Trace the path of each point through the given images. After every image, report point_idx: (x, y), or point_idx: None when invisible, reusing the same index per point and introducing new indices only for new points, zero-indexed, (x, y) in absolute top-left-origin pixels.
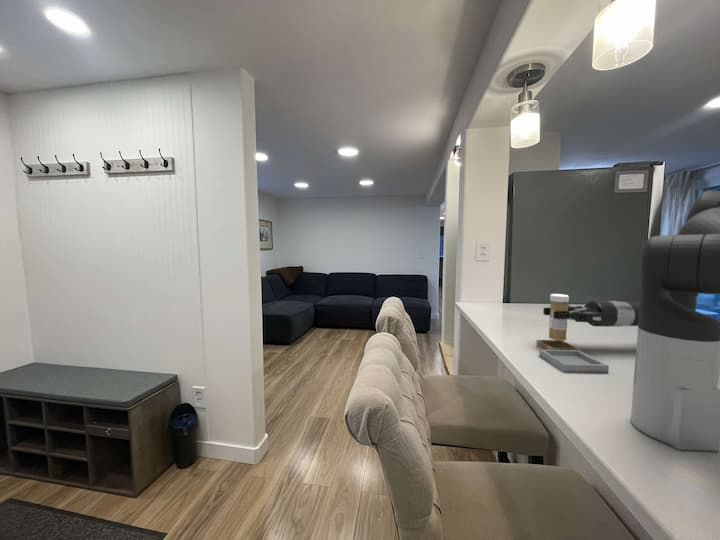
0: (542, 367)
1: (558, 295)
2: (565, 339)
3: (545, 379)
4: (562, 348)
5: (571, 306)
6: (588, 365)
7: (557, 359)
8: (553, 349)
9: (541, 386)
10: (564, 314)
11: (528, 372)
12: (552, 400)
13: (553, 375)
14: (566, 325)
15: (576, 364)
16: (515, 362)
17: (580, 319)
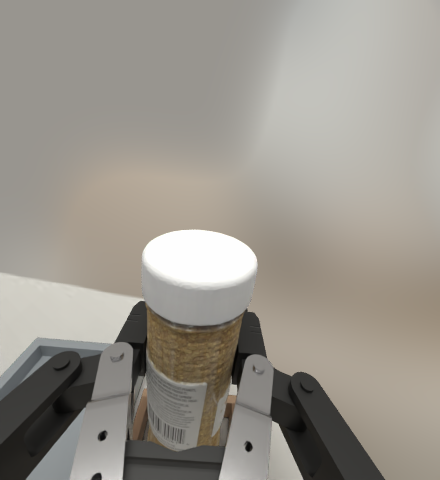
0: (91, 327)
1: (176, 235)
2: None
3: (49, 303)
4: (134, 435)
5: (243, 464)
6: None
7: (70, 344)
8: (142, 395)
9: (38, 286)
10: (126, 326)
11: (88, 295)
12: (2, 277)
13: (50, 323)
14: (150, 414)
15: (13, 368)
16: (134, 299)
17: (58, 423)
